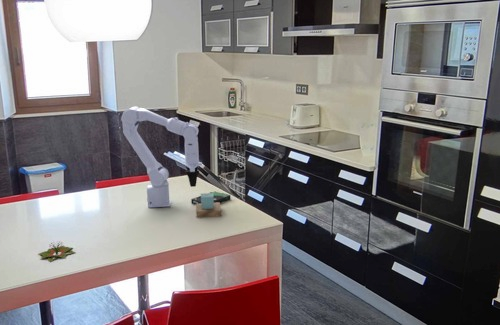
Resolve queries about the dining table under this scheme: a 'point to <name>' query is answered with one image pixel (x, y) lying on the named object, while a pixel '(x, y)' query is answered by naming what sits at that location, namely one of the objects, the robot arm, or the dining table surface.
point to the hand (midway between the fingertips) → (193, 183)
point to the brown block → (208, 210)
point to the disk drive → (216, 196)
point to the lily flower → (51, 251)
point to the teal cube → (207, 201)
